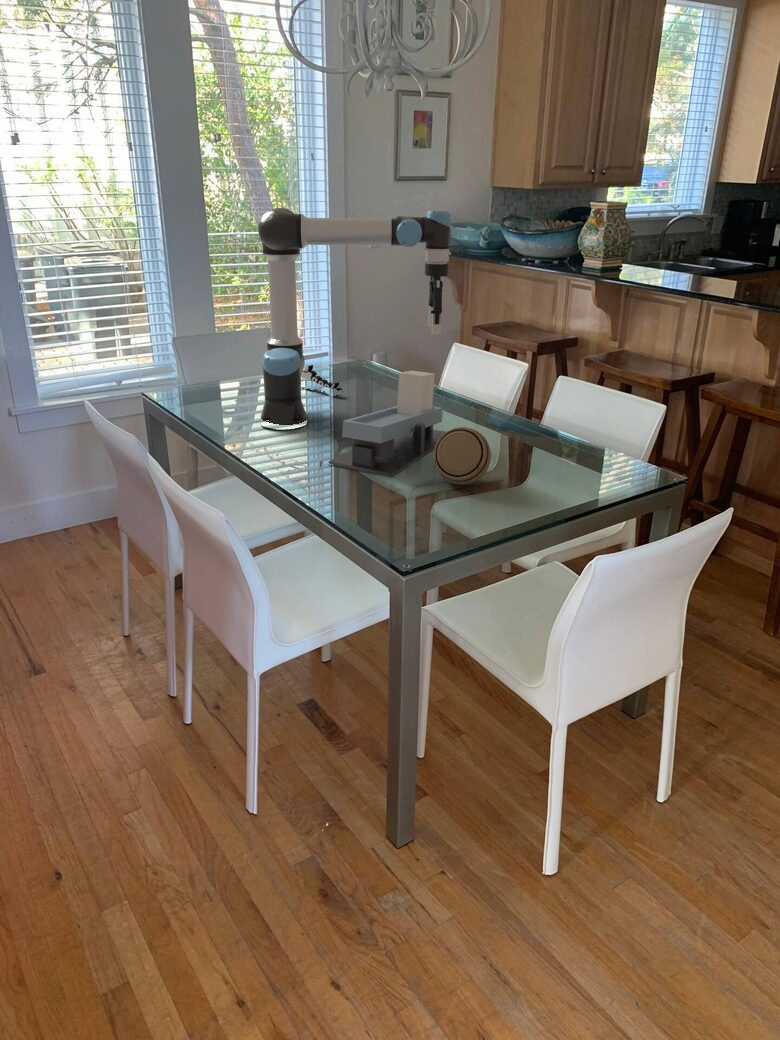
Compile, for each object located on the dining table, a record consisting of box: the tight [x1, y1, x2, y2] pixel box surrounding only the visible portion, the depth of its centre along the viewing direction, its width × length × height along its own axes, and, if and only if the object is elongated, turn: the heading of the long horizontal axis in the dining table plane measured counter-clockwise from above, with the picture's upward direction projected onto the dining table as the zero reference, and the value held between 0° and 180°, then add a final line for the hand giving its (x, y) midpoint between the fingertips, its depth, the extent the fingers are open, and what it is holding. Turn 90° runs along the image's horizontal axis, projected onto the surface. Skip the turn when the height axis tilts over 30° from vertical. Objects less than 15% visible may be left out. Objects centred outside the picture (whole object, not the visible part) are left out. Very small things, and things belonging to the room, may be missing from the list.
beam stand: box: [328, 423, 447, 478], centre depth 232 cm, size 42×20×9 cm, turn 152°
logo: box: [301, 364, 343, 391], centre depth 292 cm, size 21×2×10 cm, turn 47°
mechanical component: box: [432, 426, 492, 486], centre depth 206 cm, size 15×15×15 cm
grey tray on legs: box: [341, 405, 444, 458], centre depth 231 cm, size 40×13×9 cm, turn 152°
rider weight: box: [396, 370, 436, 415], centre depth 238 cm, size 8×8×12 cm
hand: (434, 330), depth 259 cm, fingers open, 13 cm apart
